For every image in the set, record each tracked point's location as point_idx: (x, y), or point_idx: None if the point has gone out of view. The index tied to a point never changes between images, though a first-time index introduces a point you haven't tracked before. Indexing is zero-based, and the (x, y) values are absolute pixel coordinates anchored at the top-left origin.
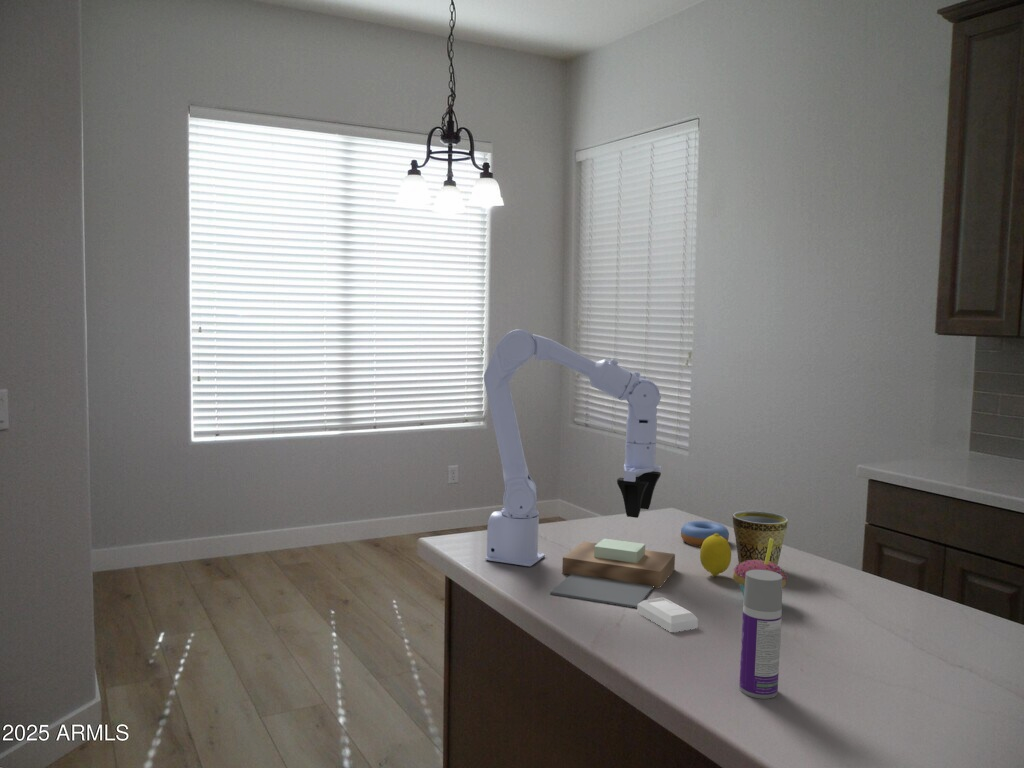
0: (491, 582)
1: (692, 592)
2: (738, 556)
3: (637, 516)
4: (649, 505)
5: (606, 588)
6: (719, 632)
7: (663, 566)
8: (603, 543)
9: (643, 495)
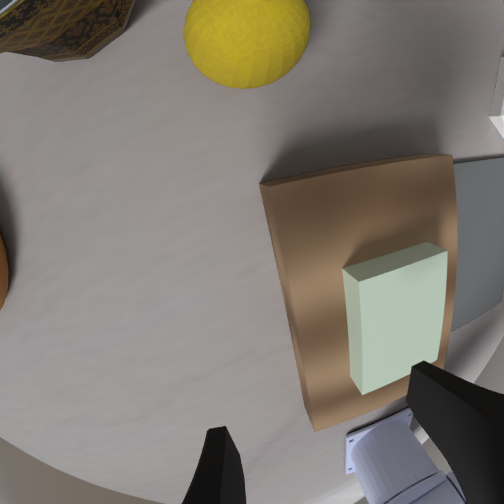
0: (474, 379)
1: (400, 78)
2: (88, 45)
3: (427, 363)
4: (218, 439)
5: (476, 244)
6: (491, 29)
7: (417, 162)
8: (409, 364)
9: (235, 500)
